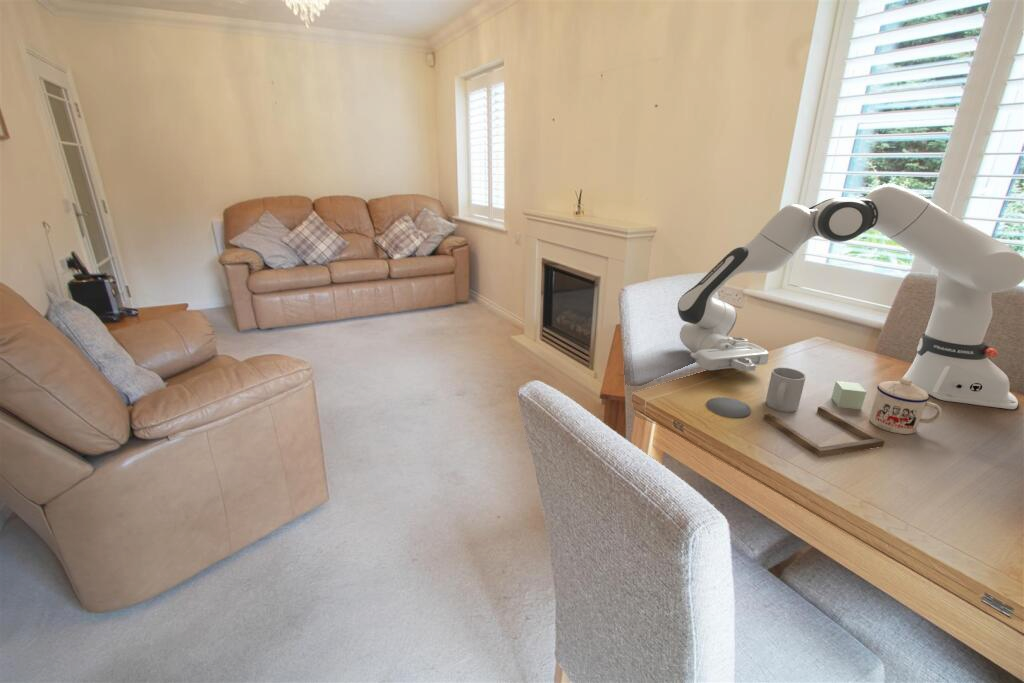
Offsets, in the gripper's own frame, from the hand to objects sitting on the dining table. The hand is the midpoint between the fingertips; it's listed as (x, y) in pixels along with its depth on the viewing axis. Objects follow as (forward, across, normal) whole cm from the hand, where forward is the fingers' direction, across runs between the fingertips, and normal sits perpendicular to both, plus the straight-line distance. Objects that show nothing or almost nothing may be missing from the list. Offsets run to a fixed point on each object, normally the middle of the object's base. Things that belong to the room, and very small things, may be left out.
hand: (751, 368), depth 123 cm
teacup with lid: (+26, +20, +6) cm, 33 cm away
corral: (+23, 0, +6) cm, 24 cm away
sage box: (+14, +18, +6) cm, 23 cm away
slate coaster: (+9, -13, +6) cm, 17 cm away
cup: (+12, 0, +6) cm, 13 cm away
